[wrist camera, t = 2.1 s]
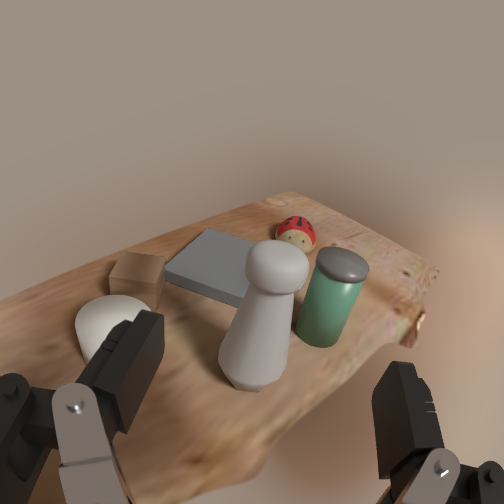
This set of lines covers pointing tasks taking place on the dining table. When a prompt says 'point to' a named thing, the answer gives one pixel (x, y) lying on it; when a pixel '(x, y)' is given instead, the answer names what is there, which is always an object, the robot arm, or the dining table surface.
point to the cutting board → (212, 267)
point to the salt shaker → (263, 316)
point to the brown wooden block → (139, 278)
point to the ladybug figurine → (297, 233)
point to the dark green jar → (330, 296)
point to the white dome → (103, 320)
